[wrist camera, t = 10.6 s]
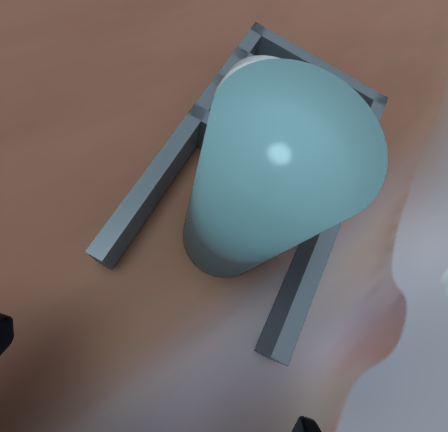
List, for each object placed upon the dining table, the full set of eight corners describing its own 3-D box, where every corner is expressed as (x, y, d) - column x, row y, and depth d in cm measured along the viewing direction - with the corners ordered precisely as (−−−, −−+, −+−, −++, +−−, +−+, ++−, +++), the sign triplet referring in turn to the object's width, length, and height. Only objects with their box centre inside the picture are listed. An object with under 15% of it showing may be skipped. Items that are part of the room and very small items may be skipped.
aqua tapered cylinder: (263, 280, 19) (401, 232, 8) (178, 274, 18) (202, 211, 7) (263, 202, 21) (374, 75, 10) (186, 193, 20) (214, 43, 9)
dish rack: (268, 358, 18) (287, 366, 15) (97, 261, 18) (84, 251, 15) (363, 121, 25) (388, 97, 23) (245, 54, 25) (255, 22, 23)
